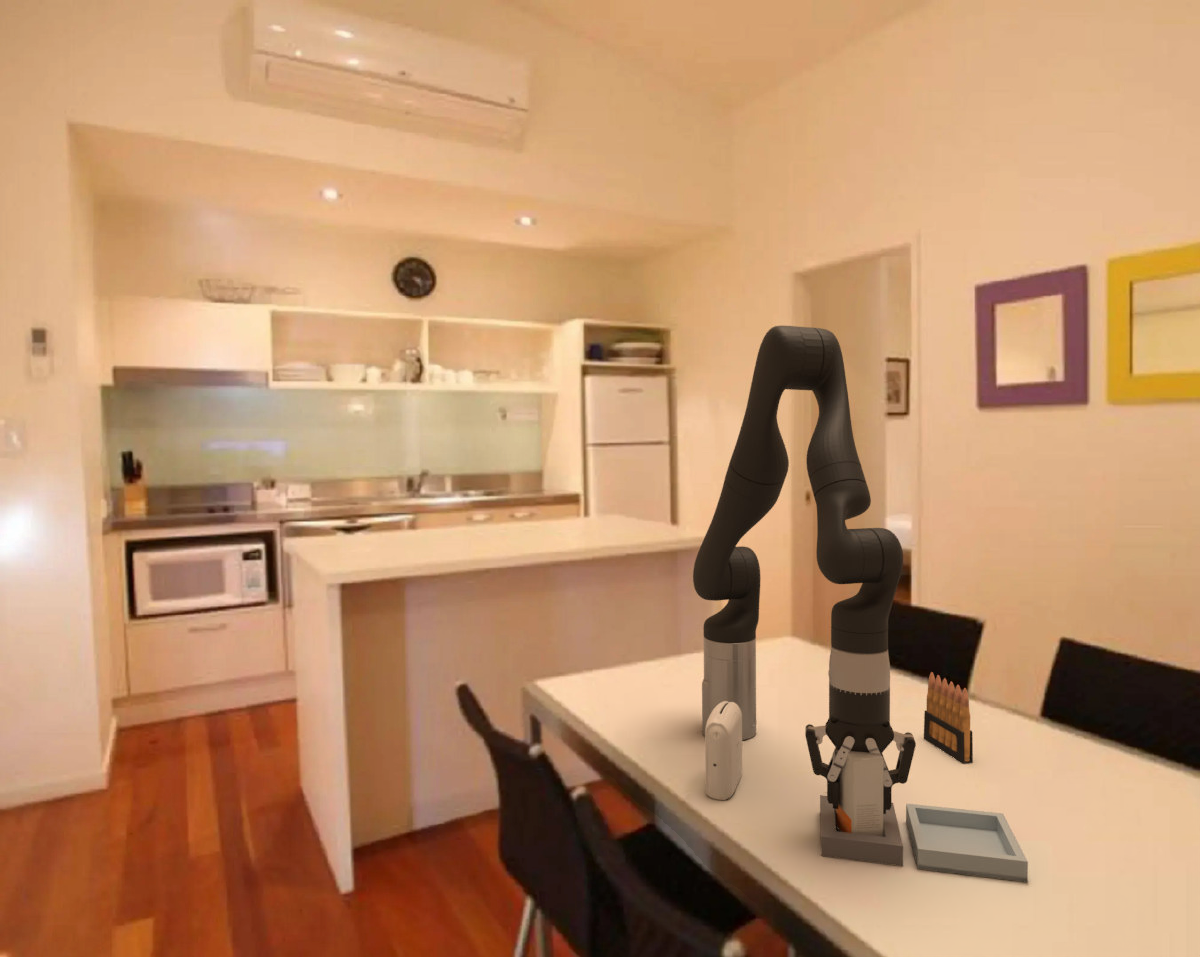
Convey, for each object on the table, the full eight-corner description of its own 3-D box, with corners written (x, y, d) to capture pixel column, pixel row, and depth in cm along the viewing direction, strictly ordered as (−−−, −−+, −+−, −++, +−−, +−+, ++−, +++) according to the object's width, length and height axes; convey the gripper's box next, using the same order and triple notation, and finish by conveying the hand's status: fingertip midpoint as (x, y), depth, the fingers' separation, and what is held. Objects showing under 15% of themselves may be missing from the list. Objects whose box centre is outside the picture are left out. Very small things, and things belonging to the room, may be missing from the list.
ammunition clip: (973, 763, 124) (974, 689, 123) (962, 764, 123) (963, 690, 123) (932, 737, 134) (933, 669, 134) (923, 738, 134) (923, 670, 133)
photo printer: (731, 802, 111) (730, 718, 111) (702, 798, 113) (701, 715, 112) (745, 773, 121) (744, 696, 120) (718, 769, 122) (717, 693, 122)
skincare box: (834, 826, 104) (834, 739, 103) (864, 825, 104) (864, 738, 104) (852, 850, 98) (852, 758, 97) (884, 848, 98) (885, 756, 98)
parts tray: (917, 868, 94) (918, 848, 94) (906, 821, 105) (906, 803, 105) (1027, 882, 91) (1027, 861, 90) (1002, 831, 102) (1003, 813, 102)
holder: (821, 855, 97) (821, 836, 97) (820, 812, 108) (820, 795, 108) (902, 866, 94) (902, 846, 94) (892, 820, 105) (893, 802, 105)
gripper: (801, 686, 98) (802, 816, 99) (922, 694, 95) (921, 829, 95) (802, 669, 106) (802, 790, 106) (914, 676, 102) (913, 801, 103)
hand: (858, 808), depth 101 cm, fingers closed on skincare box, 5 cm apart
